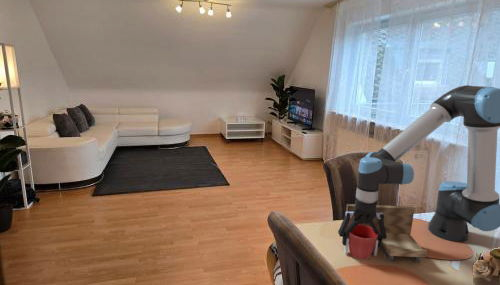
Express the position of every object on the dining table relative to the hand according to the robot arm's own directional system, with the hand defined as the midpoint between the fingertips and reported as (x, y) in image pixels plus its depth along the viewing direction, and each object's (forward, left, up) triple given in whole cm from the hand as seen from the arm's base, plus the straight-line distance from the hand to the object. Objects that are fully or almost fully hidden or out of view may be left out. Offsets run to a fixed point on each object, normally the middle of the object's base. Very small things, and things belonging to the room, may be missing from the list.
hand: (359, 253), depth 122 cm
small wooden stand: (-15, -1, 0) cm, 15 cm away
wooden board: (-9, -9, 0) cm, 13 cm away
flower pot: (0, 0, -1) cm, 1 cm away
